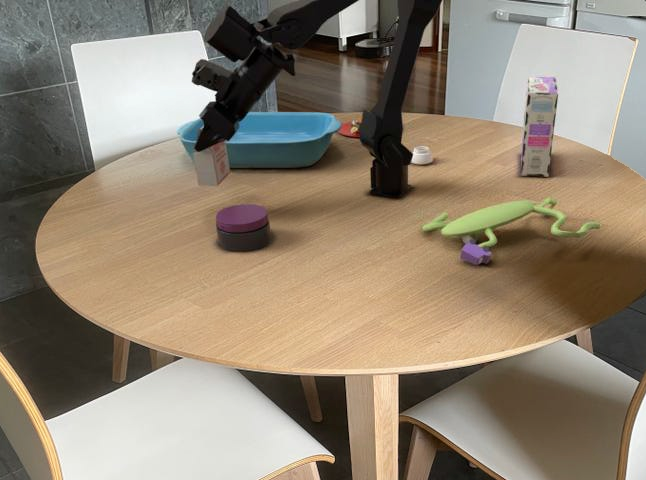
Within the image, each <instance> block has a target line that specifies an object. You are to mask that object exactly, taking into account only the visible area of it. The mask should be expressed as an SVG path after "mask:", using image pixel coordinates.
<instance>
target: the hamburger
mask: <svg viewBox="0 0 646 480" xmlns="http://www.w3.org/2000/svg"><path fill="white" fill-rule="evenodd" d="M362 114H363V112H360V113H359V114H358V115H357V116H356V118H355V119H354V120H351V121H346V122H343V123H342V126H341V128H340V130H339V131H337V132H336V133H339V134H340V135H343V136H347V137H356V138H360V132H359V131H358V128H359V126H360V124H361V122H362Z"/></svg>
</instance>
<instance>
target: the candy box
mask: <svg viewBox="0 0 646 480" xmlns="http://www.w3.org/2000/svg"><path fill="white" fill-rule="evenodd" d="M558 98H559V89H558V84H557V79H556V76H527V81H526V92H525V101H524V102H525V103H524V115H523V125H522V141H521V154H520V157H521V158H520V176H524V177H541V178H542V177H545V178H548V177H549V176H550V168H551V160H552V159H551V158H552V149H553V140H554V133H555V132H554V131H555V125H556V124H555V123H556V116H557V108H558V100H559V99H558Z"/></svg>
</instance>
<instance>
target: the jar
mask: <svg viewBox="0 0 646 480" xmlns="http://www.w3.org/2000/svg"><path fill="white" fill-rule="evenodd" d="M215 228H216V235H217V241H218V242H217V243H218V246H219V247H220V248H222V249H223V250H225V251H230V252H238V253H241V252H250V251H255V250H259V249H261V248H263V247H266V246H267V245H268V244H270V243H271V241H272V230H271V222H270V219H269V218H268V222H267V224H266V225H264V226H263V227H261V228H259V229H256V230H253V231H248V232H238V233H237V232H227V231H223V230H221V229H219V228H218V226H217V224H216V223H215Z"/></svg>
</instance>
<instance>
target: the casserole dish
mask: <svg viewBox="0 0 646 480" xmlns="http://www.w3.org/2000/svg"><path fill="white" fill-rule="evenodd" d="M342 124H343V123H342V122H341V121H340V120H338V119H336V116H335V115H334V114H332V113H328V112H320V111H319V112H316V111H249V113H248V114H247V115H246V117H245V118H244V119H243V120H242V121H240V122H239V129H238V130H237V132H236V133H235V134H234V136H233V137H232V138H231V139H230V140H229V141H227V140H225V141H226V148H227V154H228V161H229V168H230V169H251V168H253V169H296V168H304V167H306V168H307V167H309V166H312V165H314V164H316V163H317V162H318V161H319V160H320V159H321V158H322V157H323V155H324V154H325V153H326V151H327V150H328V148H329V146H330V144H331V142H332V138H333V134H335V133H338V132H337V131H339V130H340V128H341V126H342ZM203 126H204V123H203V120H202V119H201V118H200V117H199V118H197V119H195V120H191V121H188V122H186V123H184V124H182V125H181V126H180V127H179V128H178V129H177V130H176V133H177V135H179V139H180V141H181V144H182V145H183V147H184V149H185V151H186V153H187V154H188V156H189V157H190V159H191V160H192V161H193V162H194V158H193V151H194V147H195V144H196V141H197V136H198V130H199V129H200V128H201V127H203Z"/></svg>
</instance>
